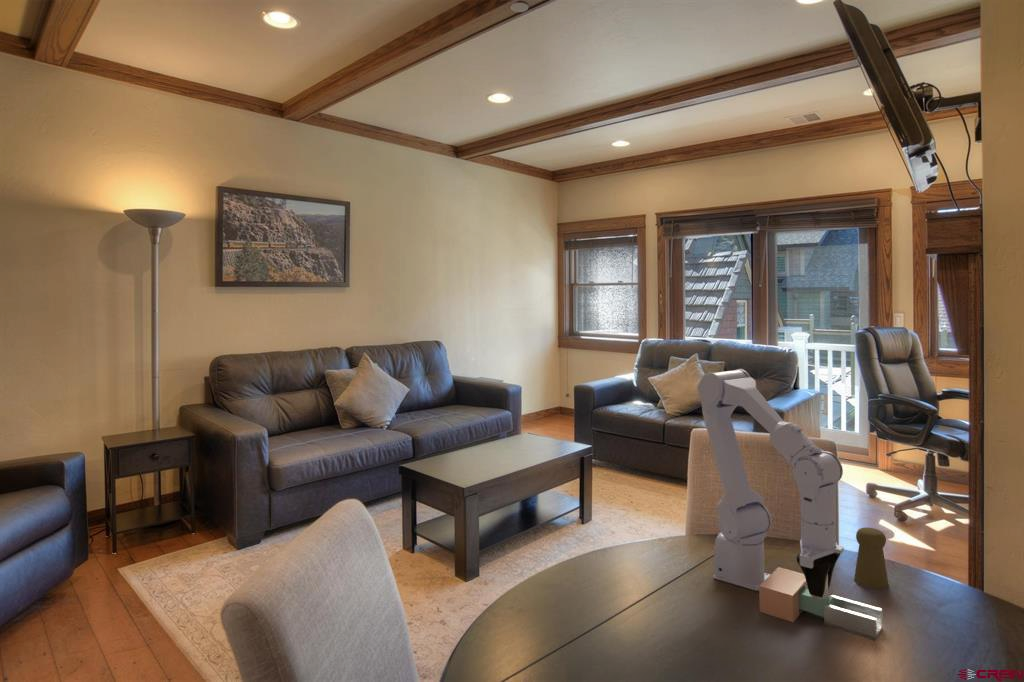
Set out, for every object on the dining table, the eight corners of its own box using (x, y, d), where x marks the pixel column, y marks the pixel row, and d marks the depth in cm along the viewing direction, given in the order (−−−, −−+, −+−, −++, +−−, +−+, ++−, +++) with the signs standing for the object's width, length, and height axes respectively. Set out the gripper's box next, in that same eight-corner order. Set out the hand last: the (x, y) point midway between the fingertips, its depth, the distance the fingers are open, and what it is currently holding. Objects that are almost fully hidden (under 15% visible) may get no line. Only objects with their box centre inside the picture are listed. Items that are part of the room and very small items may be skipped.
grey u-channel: (824, 624, 106) (824, 605, 106) (832, 613, 110) (832, 594, 109) (875, 640, 101) (875, 620, 100) (882, 628, 104) (882, 608, 104)
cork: (894, 590, 117) (893, 536, 116) (860, 588, 118) (860, 535, 117) (881, 576, 123) (881, 524, 122) (849, 574, 124) (849, 523, 123)
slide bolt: (783, 604, 112) (782, 566, 111) (788, 598, 114) (787, 561, 113) (829, 618, 106) (828, 578, 106) (833, 612, 108) (833, 573, 108)
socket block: (759, 611, 111) (759, 585, 111) (778, 591, 119) (778, 567, 118) (793, 622, 107) (792, 595, 107) (810, 600, 115) (810, 575, 114)
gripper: (830, 537, 100) (831, 615, 101) (853, 512, 110) (854, 583, 111) (786, 527, 105) (788, 602, 105) (812, 505, 115) (813, 572, 116)
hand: (819, 591), depth 109 cm, fingers closed on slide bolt, 3 cm apart
